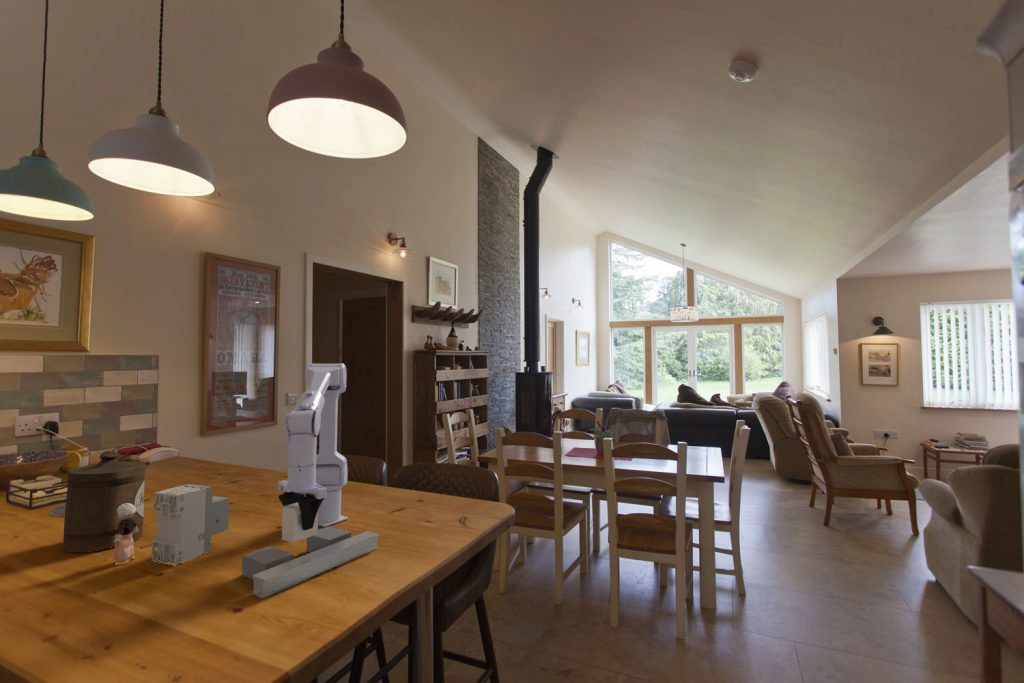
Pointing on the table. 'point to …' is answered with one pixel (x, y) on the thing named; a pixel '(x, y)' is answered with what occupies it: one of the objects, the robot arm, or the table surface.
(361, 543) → the din rail
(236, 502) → the table surface
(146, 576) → the table surface
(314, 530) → the block
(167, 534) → the circuit breaker
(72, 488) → the wooden container
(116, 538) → the grandmother figurine
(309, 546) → the mounted modules
